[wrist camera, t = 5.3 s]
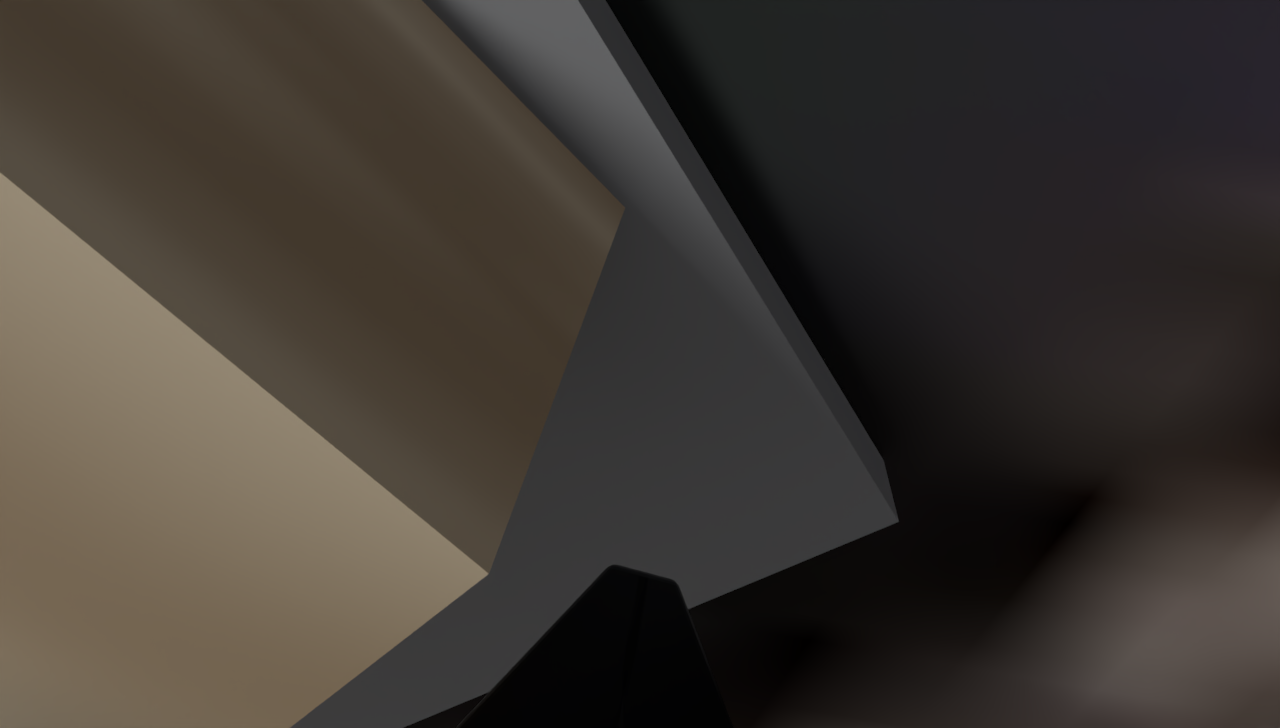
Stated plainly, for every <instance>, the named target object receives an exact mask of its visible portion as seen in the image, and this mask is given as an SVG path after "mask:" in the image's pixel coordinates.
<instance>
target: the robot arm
mask: <svg viewBox="0 0 1280 728" xmlns="http://www.w3.org/2000/svg"><path fill="white" fill-rule="evenodd" d="M456 728H733V725H732V722H731V720H730V717H729V715H728V712H727V709H726V707H725V704H724V702H723V699H722V696H721V694H720V691H719V689H718V686H717V683H716V681H715V678H714V676H713V673H712V670H711V668H710V665H709V663H708V660H707V657H706V655H705V652H704V650H703V647H702V644H701V642H700V639H699V636H698V634H697V631H696V629H695V626H694V623H693V621H692V618H691V616H690V613H689V610H688V608H687V605H686V603H685V600H684V597H683V595H682V592H681V590H680V587H679V585H678V584H677V583H676V582H675V581H674V580H672V579H670V578H666V577H662V576H658V575H655V574H651V573H647V572H643V571H640V570H636V569H632V568H628V567H625V566H621V565H616V564H614V565H610V566H609V567H607V568H606V569H605V570H604V571H603V572H602V573H601V574H600V575H599V576H598V577H597V578H596V579H595V580H594V581H593V582H592V584H591V585H590V586H589V587H588V588H587V589H586V590H585V591H584V592H583V593H582V594H581V595H580V596H579V597H578V598H577V599H576V600H575V602H574V603H573V604H572V605H571V606H570V607H569V608H568V609H567V610H566V611H565V612H564V613H563V614H562V615H561V616H560V617H559V618H558V620H557V621H556V622H555V623H554V624H553V625H552V626H551V627H550V628H549V629H548V630H547V631H546V632H545V633H544V634H543V635H542V636H541V638H540V639H539V640H538V641H537V642H536V643H535V644H534V645H533V646H532V647H531V648H530V649H529V650H528V651H527V652H526V653H525V654H524V656H523V657H522V658H521V659H520V660H519V661H518V662H517V663H516V664H515V665H514V666H513V667H512V668H511V669H510V670H509V671H508V673H507V674H506V675H505V676H504V677H503V678H502V679H501V680H500V681H499V682H498V683H497V684H496V685H495V686H494V687H493V688H492V689H491V691H490V692H489V693H488V694H487V695H486V696H485V697H484V698H483V699H482V700H481V701H480V702H479V703H478V704H477V705H476V706H475V707H474V709H473V710H472V711H471V712H470V713H469V714H468V715H467V716H466V717H465V718H464V719H463V720H462V721H461V722H460V723H459V724H458V725H457V727H456Z"/></svg>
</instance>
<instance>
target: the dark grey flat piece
mask: <svg viewBox="0 0 1280 728" xmlns="http://www.w3.org/2000/svg"><path fill="white" fill-rule="evenodd" d="M422 1H423V2H424V3H425V4H426V5H427V6H428V7H429V8H430V9H431V10H432V11H433V12H434V13H435V14H436V15H437V16H438V17H439V18H440V19H441V20H442V21H443V22H444V23H445V24H446V25H447V26H448V27H449V28H450V29H451V30H452V32H453V33H454V34H455V35H456V36H457V37H458V38H459V39H460V40H461V41H462V42H463V43H464V44H465V45H466V46H467V47H468V48H469V49H470V50H471V51H472V52H473V53H474V54H475V55H476V56H477V57H478V58H479V59H480V60H481V61H482V62H483V63H484V64H485V65H486V66H487V67H488V68H489V69H490V70H491V71H492V72H493V73H494V74H495V75H496V76H497V77H498V78H499V79H500V80H501V81H502V82H503V83H504V85H505V86H506V87H507V88H508V89H509V90H510V91H511V92H512V93H513V94H514V95H515V96H516V97H517V98H518V99H519V100H520V101H521V102H522V103H523V104H524V105H525V106H526V107H527V108H528V109H529V110H530V111H531V112H532V113H533V114H534V115H535V116H536V117H537V118H538V119H539V120H540V121H541V122H542V123H543V124H544V125H545V126H546V127H547V128H548V129H549V130H550V131H551V132H552V133H553V134H554V135H555V136H556V138H557V139H558V140H559V141H560V142H561V143H562V144H563V145H564V146H565V147H566V148H567V149H568V150H569V151H570V152H571V153H572V154H573V155H574V156H575V157H576V158H577V159H578V160H579V161H580V162H581V163H582V164H583V165H584V166H585V167H586V168H587V169H588V170H589V171H590V172H591V173H592V174H593V175H594V176H595V177H596V178H597V179H598V180H599V181H600V182H601V183H602V184H603V185H604V186H605V187H606V188H607V189H608V191H609V192H610V193H611V194H612V195H613V196H614V197H615V198H616V199H617V200H618V201H619V202H620V203H621V204H622V205H623V206H624V207H625V210H624V212H623V215H622V218H621V220H620V223H619V226H618V228H617V231H616V234H615V237H614V239H613V242H612V245H611V247H610V250H609V253H608V255H607V258H606V261H605V263H604V266H603V269H602V271H601V274H600V277H599V279H598V282H597V285H596V288H595V290H594V293H593V296H592V298H591V301H590V304H589V306H588V309H587V312H586V314H585V317H584V320H583V322H582V325H581V328H580V331H579V333H578V336H577V339H576V341H575V344H574V347H573V349H572V352H571V355H570V357H569V360H568V363H567V365H566V368H565V371H564V373H563V376H562V379H561V382H560V384H559V387H558V390H557V392H556V395H555V398H554V400H553V403H552V406H551V408H550V411H549V414H548V416H547V419H546V422H545V424H544V427H543V430H542V433H541V435H540V438H539V441H538V443H537V446H536V449H535V451H534V454H533V457H532V459H531V462H530V465H529V467H528V470H527V473H526V476H525V478H524V481H523V484H522V486H521V489H520V492H519V494H518V497H517V500H516V502H515V505H514V508H513V510H512V513H511V516H510V518H509V521H508V524H507V527H506V529H505V532H504V535H503V537H502V540H501V543H500V545H499V548H498V551H497V553H496V556H495V559H494V561H493V564H492V567H491V569H490V572H489V574H488V575H487V576H485V577H484V578H483V579H482V580H480V581H479V582H478V583H476V584H475V585H474V586H472V587H471V588H470V589H469V590H467V591H466V592H465V593H463V594H462V595H461V596H460V597H458V598H457V599H456V600H454V601H453V602H452V603H450V604H449V605H448V606H447V607H445V608H444V609H443V610H441V611H440V612H439V613H438V614H436V615H435V616H434V617H432V618H431V619H430V620H429V621H427V622H426V623H425V624H423V625H422V626H421V627H419V628H418V629H417V630H416V631H414V632H413V633H412V634H410V635H409V636H408V637H407V638H405V639H404V640H403V641H401V642H400V643H399V644H398V645H396V646H395V647H394V648H392V649H391V650H390V651H388V652H387V653H386V654H385V655H383V656H382V657H381V658H379V659H378V660H377V661H376V662H374V663H373V664H372V665H370V666H369V667H368V668H366V669H365V670H364V671H363V672H361V673H360V674H359V675H357V676H356V677H355V678H354V679H352V680H351V681H350V682H348V683H347V684H346V685H345V686H343V687H342V688H341V689H339V690H338V691H337V692H335V693H334V694H333V695H332V696H330V697H329V698H328V699H326V700H325V701H324V702H323V703H321V704H320V705H319V706H317V707H316V708H315V709H313V710H312V711H311V712H310V713H308V714H307V715H306V716H304V717H303V718H302V719H301V720H299V721H298V722H297V723H295V724H294V725H293V726H292V727H290V728H404V727H406V726H408V725H411V724H413V723H416V722H418V721H420V720H423V719H425V718H428V717H430V716H432V715H435V714H437V713H440V712H442V711H444V710H447V709H449V708H452V707H454V706H456V705H459V704H461V703H464V702H466V701H469V700H471V699H473V698H476V697H478V696H481V695H483V694H485V693H488V692H490V691H491V689H492V688H493V687H494V686H495V685H496V684H497V683H498V682H499V681H500V680H501V679H502V678H503V677H504V676H505V675H506V674H507V673H508V671H509V670H510V669H511V668H512V667H513V666H514V665H515V664H516V663H517V662H518V661H519V660H520V659H521V658H522V657H523V656H524V654H525V653H526V652H527V651H528V650H529V649H530V648H531V647H532V646H533V645H534V644H535V643H536V642H537V641H538V640H539V639H540V638H541V636H542V635H543V634H544V633H545V632H546V631H547V630H548V629H549V628H550V627H551V626H552V625H553V624H554V623H555V622H556V621H557V620H558V618H559V617H560V616H561V615H562V614H563V613H564V612H565V611H566V610H567V609H568V608H569V607H570V606H571V605H572V604H573V603H574V602H575V600H576V599H577V598H578V597H579V596H580V595H581V594H582V593H583V592H584V591H585V590H586V589H587V588H588V587H589V586H590V585H591V584H592V582H593V581H594V580H595V579H596V578H597V577H598V576H599V575H600V574H601V573H602V572H603V571H604V570H605V569H606V568H607V567H609V566H610V565H614V564H616V565H621V566H625V567H628V568H632V569H636V570H640V571H643V572H647V573H651V574H655V575H658V576H662V577H666V578H670V579H672V580H674V581H675V582H676V583H677V584H678V585H679V587H680V590H681V592H682V595H683V597H684V600H685V603H686V605H687V608H688V609H690V608H692V607H695V606H697V605H700V604H702V603H704V602H707V601H709V600H712V599H714V598H716V597H719V596H721V595H724V594H726V593H728V592H731V591H733V590H736V589H738V588H740V587H743V586H745V585H748V584H750V583H753V582H755V581H757V580H760V579H762V578H765V577H767V576H769V575H772V574H774V573H777V572H779V571H781V570H784V569H786V568H789V567H791V566H793V565H796V564H798V563H801V562H803V561H805V560H808V559H810V558H813V557H815V556H817V555H820V554H822V553H825V552H827V551H830V550H832V549H834V548H837V547H839V546H842V545H844V544H846V543H849V542H851V541H854V540H856V539H858V538H861V537H863V536H866V535H868V534H870V533H873V532H875V531H878V530H880V529H882V528H885V527H887V526H890V525H892V524H894V523H897V522H899V520H898V516H897V512H896V508H895V504H894V500H893V496H892V492H891V488H890V484H889V480H888V476H887V472H886V468H885V464H884V460H883V459H882V457H881V455H880V454H879V452H878V450H877V449H876V447H875V445H874V444H873V442H872V440H871V439H870V437H869V435H868V434H867V432H866V430H865V429H864V427H863V425H862V424H861V422H860V420H859V419H858V417H857V415H856V414H855V412H854V411H853V409H852V407H851V406H850V404H849V402H848V401H847V399H846V397H845V396H844V394H843V392H842V391H841V389H840V387H839V386H838V384H837V382H836V381H835V379H834V377H833V376H832V374H831V372H830V371H829V369H828V368H827V366H826V364H825V363H824V361H823V359H822V358H821V356H820V354H819V353H818V351H817V349H816V348H815V346H814V344H813V343H812V341H811V339H810V338H809V336H808V334H807V333H806V331H805V329H804V328H803V326H802V324H801V323H800V321H799V320H798V318H797V316H796V315H795V313H794V311H793V310H792V308H791V306H790V305H789V303H788V301H787V300H786V298H785V296H784V295H783V293H782V291H781V290H780V288H779V286H778V285H777V283H776V281H775V280H774V278H773V276H772V275H771V273H770V272H769V270H768V268H767V267H766V265H765V263H764V262H763V260H762V258H761V257H760V255H759V253H758V252H757V250H756V248H755V247H754V245H753V243H752V242H751V240H750V238H749V237H748V235H747V233H746V232H745V230H744V228H743V227H742V225H741V224H740V222H739V220H738V219H737V217H736V215H735V214H734V212H733V210H732V209H731V207H730V205H729V204H728V202H727V200H726V199H725V197H724V195H723V194H722V192H721V190H720V189H719V187H718V185H717V184H716V182H715V180H714V179H713V177H712V176H711V174H710V172H709V171H708V169H707V167H706V166H705V164H704V162H703V161H702V159H701V157H700V156H699V154H698V152H697V151H696V149H695V147H694V146H693V144H692V142H691V141H690V139H689V137H688V136H687V134H686V132H685V131H684V129H683V128H682V126H681V124H680V123H679V121H678V119H677V118H676V116H675V114H674V113H673V111H672V109H671V108H670V106H669V104H668V103H667V101H666V99H665V98H664V96H663V94H662V93H661V91H660V89H659V88H658V86H657V84H656V83H655V81H654V80H653V78H652V76H651V75H650V73H649V71H648V70H647V68H646V66H645V65H644V63H643V61H642V60H641V58H640V56H639V55H638V53H637V51H636V50H635V48H634V46H633V45H632V43H631V41H630V40H629V38H628V36H627V35H626V33H625V32H624V30H623V28H622V27H621V25H620V23H619V22H618V20H617V18H616V17H615V15H614V13H613V12H612V10H611V8H610V7H609V5H608V3H607V2H606V0H422Z"/></svg>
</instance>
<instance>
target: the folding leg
mask: <svg viewBox="0 0 1280 728" xmlns="http://www.w3.org/2000/svg"><path fill="white" fill-rule="evenodd" d="M624 210H625V207H624V206H623V205H622V204H621V203H620V202H619V201H618V200H617V199H616V198H615V197H614V196H613V195H612V194H611V193H610V192H609V191H608V189H607V188H606V187H605V186H604V185H603V184H602V183H601V182H600V181H599V180H598V179H597V178H596V177H595V176H594V175H593V174H592V173H591V172H590V171H589V170H588V169H587V168H586V167H585V166H584V165H583V164H582V163H581V162H580V161H579V160H578V159H577V158H576V157H575V156H574V155H573V154H572V153H571V152H570V151H569V150H568V149H567V148H566V147H565V146H564V145H563V144H562V143H561V142H560V141H559V140H558V139H557V138H556V136H555V135H554V134H553V133H552V132H551V131H550V130H549V129H548V128H547V127H546V126H545V125H544V124H543V123H542V122H541V121H540V120H539V119H538V118H537V117H536V116H535V115H534V114H533V113H532V112H531V111H530V110H529V109H528V108H527V107H526V106H525V105H524V104H523V103H522V102H521V101H520V100H519V99H518V98H517V97H516V96H515V95H514V94H513V93H512V92H511V91H510V90H509V89H508V88H507V87H506V86H505V85H504V83H503V82H502V81H501V80H500V79H499V78H498V77H497V76H496V75H495V74H494V73H493V72H492V71H491V70H490V69H489V68H488V67H487V66H486V65H485V64H484V63H483V62H482V61H481V60H480V59H479V58H478V57H477V56H476V55H475V54H474V53H473V52H472V51H471V50H470V49H469V48H468V47H467V46H466V45H465V44H464V43H463V42H462V41H461V40H460V39H459V38H458V37H457V36H456V35H455V34H454V33H453V32H452V30H451V29H450V28H449V27H448V26H447V25H446V24H445V23H444V22H443V21H442V20H441V19H440V18H439V17H438V16H437V15H436V14H435V13H434V12H433V11H432V10H431V9H430V8H429V7H428V6H427V5H426V4H425V3H424V2H423V1H422V0H0V728H290V727H292V726H293V725H294V724H295V723H297V722H298V721H299V720H301V719H302V718H303V717H304V716H306V715H307V714H308V713H310V712H311V711H312V710H313V709H315V708H316V707H317V706H319V705H320V704H321V703H323V702H324V701H325V700H326V699H328V698H329V697H330V696H332V695H333V694H334V693H335V692H337V691H338V690H339V689H341V688H342V687H343V686H345V685H346V684H347V683H348V682H350V681H351V680H352V679H354V678H355V677H356V676H357V675H359V674H360V673H361V672H363V671H364V670H365V669H366V668H368V667H369V666H370V665H372V664H373V663H374V662H376V661H377V660H378V659H379V658H381V657H382V656H383V655H385V654H386V653H387V652H388V651H390V650H391V649H392V648H394V647H395V646H396V645H398V644H399V643H400V642H401V641H403V640H404V639H405V638H407V637H408V636H409V635H410V634H412V633H413V632H414V631H416V630H417V629H418V628H419V627H421V626H422V625H423V624H425V623H426V622H427V621H429V620H430V619H431V618H432V617H434V616H435V615H436V614H438V613H439V612H440V611H441V610H443V609H444V608H445V607H447V606H448V605H449V604H450V603H452V602H453V601H454V600H456V599H457V598H458V597H460V596H461V595H462V594H463V593H465V592H466V591H467V590H469V589H470V588H471V587H472V586H474V585H475V584H476V583H478V582H479V581H480V580H482V579H483V578H484V577H485V576H487V575H488V574H489V572H490V569H491V567H492V564H493V561H494V559H495V556H496V553H497V551H498V548H499V545H500V543H501V540H502V537H503V535H504V532H505V529H506V527H507V524H508V521H509V518H510V516H511V513H512V510H513V508H514V505H515V502H516V500H517V497H518V494H519V492H520V489H521V486H522V484H523V481H524V478H525V476H526V473H527V470H528V467H529V465H530V462H531V459H532V457H533V454H534V451H535V449H536V446H537V443H538V441H539V438H540V435H541V433H542V430H543V427H544V424H545V422H546V419H547V416H548V414H549V411H550V408H551V406H552V403H553V400H554V398H555V395H556V392H557V390H558V387H559V384H560V382H561V379H562V376H563V373H564V371H565V368H566V365H567V363H568V360H569V357H570V355H571V352H572V349H573V347H574V344H575V341H576V339H577V336H578V333H579V331H580V328H581V325H582V322H583V320H584V317H585V314H586V312H587V309H588V306H589V304H590V301H591V298H592V296H593V293H594V290H595V288H596V285H597V282H598V279H599V277H600V274H601V271H602V269H603V266H604V263H605V261H606V258H607V255H608V253H609V250H610V247H611V245H612V242H613V239H614V237H615V234H616V231H617V228H618V226H619V223H620V220H621V218H622V215H623V212H624Z"/></svg>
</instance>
